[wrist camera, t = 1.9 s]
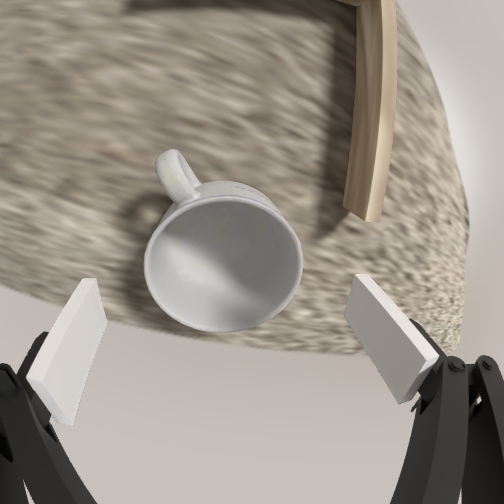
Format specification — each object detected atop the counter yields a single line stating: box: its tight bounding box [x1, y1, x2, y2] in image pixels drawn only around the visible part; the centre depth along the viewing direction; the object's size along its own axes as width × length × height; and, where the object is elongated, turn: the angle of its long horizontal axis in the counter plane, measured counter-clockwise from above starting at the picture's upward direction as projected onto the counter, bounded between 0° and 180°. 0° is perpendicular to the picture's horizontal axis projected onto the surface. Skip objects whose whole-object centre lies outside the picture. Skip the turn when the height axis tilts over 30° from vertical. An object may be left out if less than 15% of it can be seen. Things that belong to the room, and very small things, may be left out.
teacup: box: [144, 149, 303, 333], centre depth 21 cm, size 14×11×8 cm
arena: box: [336, 0, 397, 222], centre depth 18 cm, size 20×22×4 cm
